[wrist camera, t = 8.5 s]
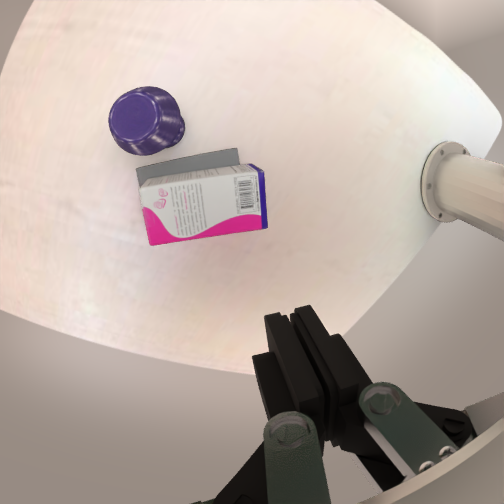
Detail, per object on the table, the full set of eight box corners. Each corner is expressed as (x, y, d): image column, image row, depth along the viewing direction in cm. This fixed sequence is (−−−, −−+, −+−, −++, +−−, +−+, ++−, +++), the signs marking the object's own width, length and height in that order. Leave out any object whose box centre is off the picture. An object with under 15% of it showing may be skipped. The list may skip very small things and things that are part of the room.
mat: (236, 147, 31) (237, 148, 31) (245, 208, 34) (246, 209, 34) (136, 168, 30) (135, 169, 29) (150, 228, 33) (150, 229, 32)
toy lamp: (134, 129, 28) (78, 130, 13) (162, 95, 28) (132, 61, 12) (167, 155, 30) (142, 180, 15) (195, 122, 29) (198, 112, 14)
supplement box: (251, 162, 32) (145, 176, 30) (265, 170, 27) (137, 187, 25) (255, 213, 34) (154, 227, 32) (268, 230, 29) (148, 248, 27)
